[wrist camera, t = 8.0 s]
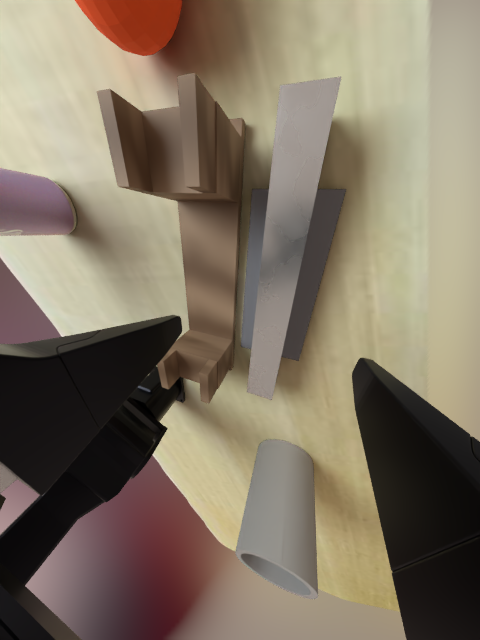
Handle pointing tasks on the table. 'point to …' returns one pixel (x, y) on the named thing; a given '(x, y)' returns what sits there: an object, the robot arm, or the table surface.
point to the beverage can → (33, 206)
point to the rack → (190, 213)
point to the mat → (310, 269)
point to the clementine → (134, 22)
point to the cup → (281, 519)
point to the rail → (288, 218)
